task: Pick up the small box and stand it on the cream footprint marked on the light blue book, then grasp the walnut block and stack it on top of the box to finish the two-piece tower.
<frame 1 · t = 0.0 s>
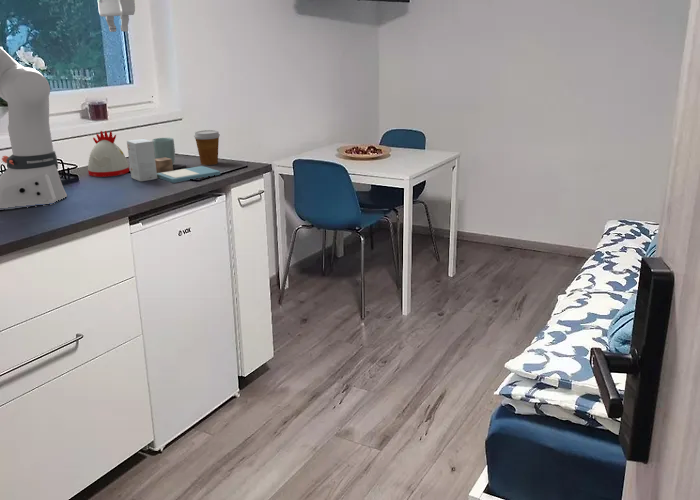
hand: (118, 31, 197), 48 cm above the countertop, fingers open, 8 cm apart
cup: (165, 166, 239), on the countertop
light blue book: (188, 175, 222), on the countertop
disposable coffee cup: (209, 164, 242), on the countertop
walnut block: (163, 173, 228), on the countertop
kitchen timer: (109, 173, 230), on the countertop
small box: (144, 179, 219), on the countertop
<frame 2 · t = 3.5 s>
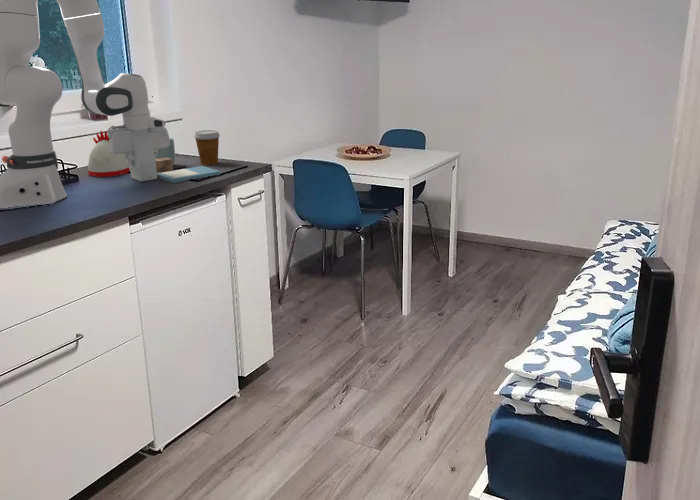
hand: (142, 163, 217), 5 cm above the countertop, fingers closed on small box, 6 cm apart
small box: (144, 179, 219), on the countertop, touching gripper
everything else where it was.
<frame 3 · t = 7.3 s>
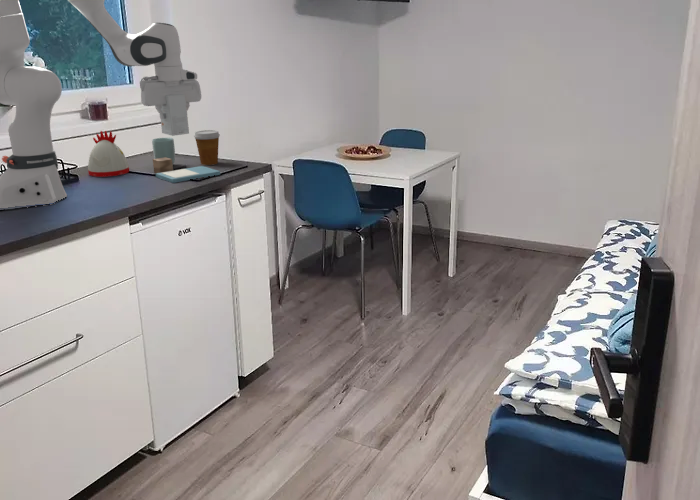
hand: (173, 117, 213), 20 cm above the countertop, fingers closed on small box, 6 cm apart
small box: (175, 134, 215), point 15 cm above the countertop, touching gripper
everything else where it was.
when the fingers open (8 cm above the countertop, at t = 10.0 s): small box stays where it is, resting on light blue book.
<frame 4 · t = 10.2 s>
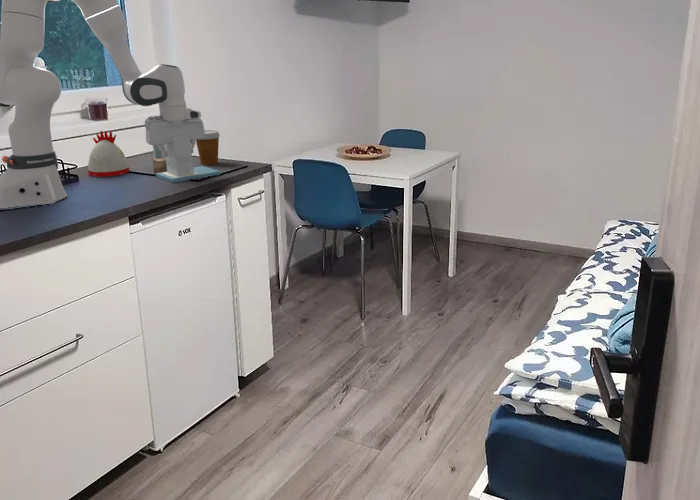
hand: (177, 155, 218), 8 cm above the countertop, fingers open, 8 cm apart
small box: (180, 173, 220), point 1 cm above the countertop, touching light blue book
everything else where it was.
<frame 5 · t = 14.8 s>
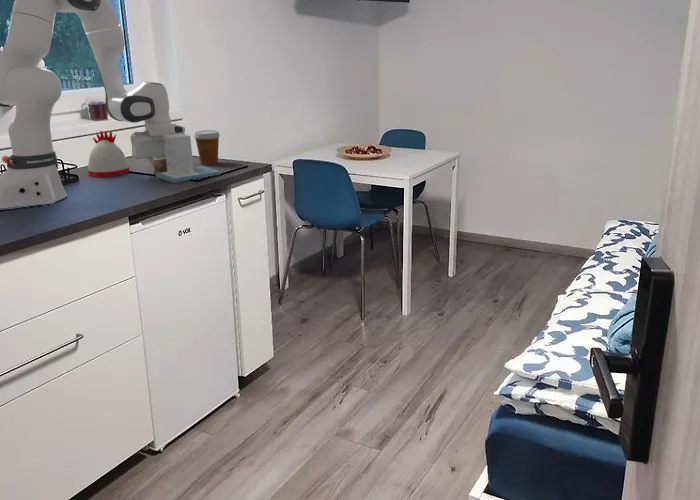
hand: (163, 168, 227), 2 cm above the countertop, fingers closed on walnut block, 5 cm apart
walnut block: (163, 173, 228), on the countertop, touching gripper
everything else where it was.
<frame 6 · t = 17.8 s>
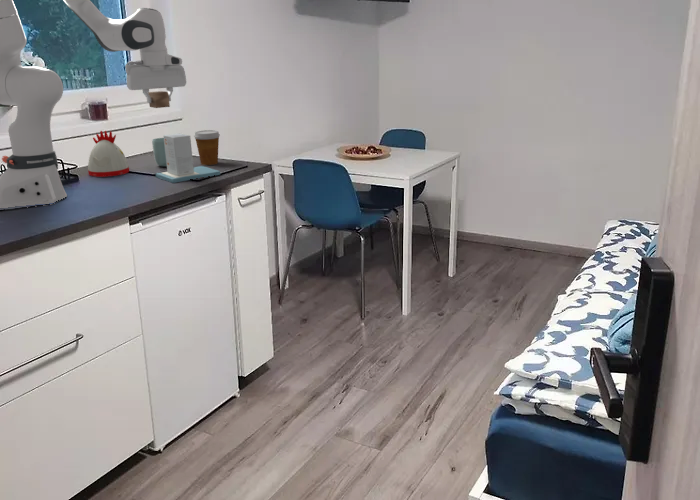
hand: (159, 102, 218), 25 cm above the countertop, fingers closed on walnut block, 5 cm apart
walnut block: (159, 106, 218), point 23 cm above the countertop, touching gripper
everything else where it was.
when the fingers open (18 cm above the countertop, at t = 20.5 s): walnut block drops 2 cm, resting on small box.
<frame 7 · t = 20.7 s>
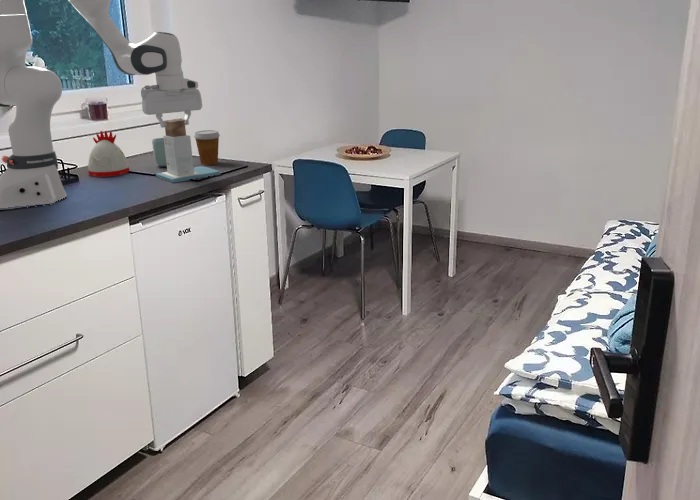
hand: (174, 126, 214), 18 cm above the countertop, fingers open, 7 cm apart
walnut block: (176, 135, 215), point 14 cm above the countertop, touching small box
small box: (180, 173, 220), point 1 cm above the countertop, touching light blue book, walnut block
everything else where it was.
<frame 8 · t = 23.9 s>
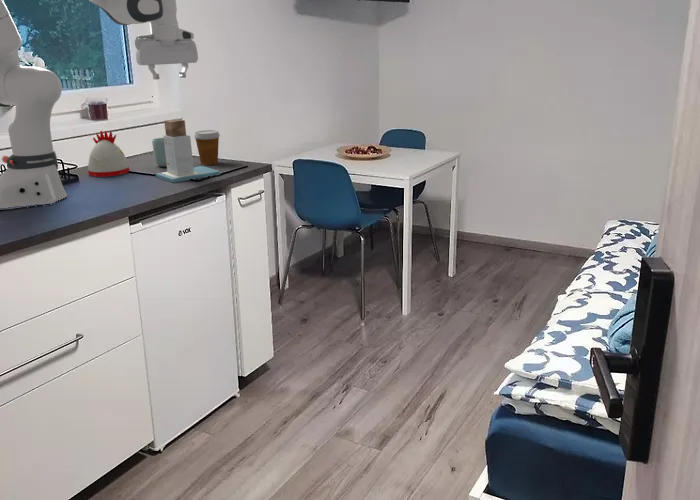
hand: (169, 78, 209), 33 cm above the countertop, fingers open, 8 cm apart
nothing on the countertop moved.
at the end: small box 0.3 cm from the target spot on the light blue book, point 1.2 cm above the light blue book's base; small box tilted 0°; walnut block 0.3 cm off-centre on the small box, point 13.2 cm above the small box's base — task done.
